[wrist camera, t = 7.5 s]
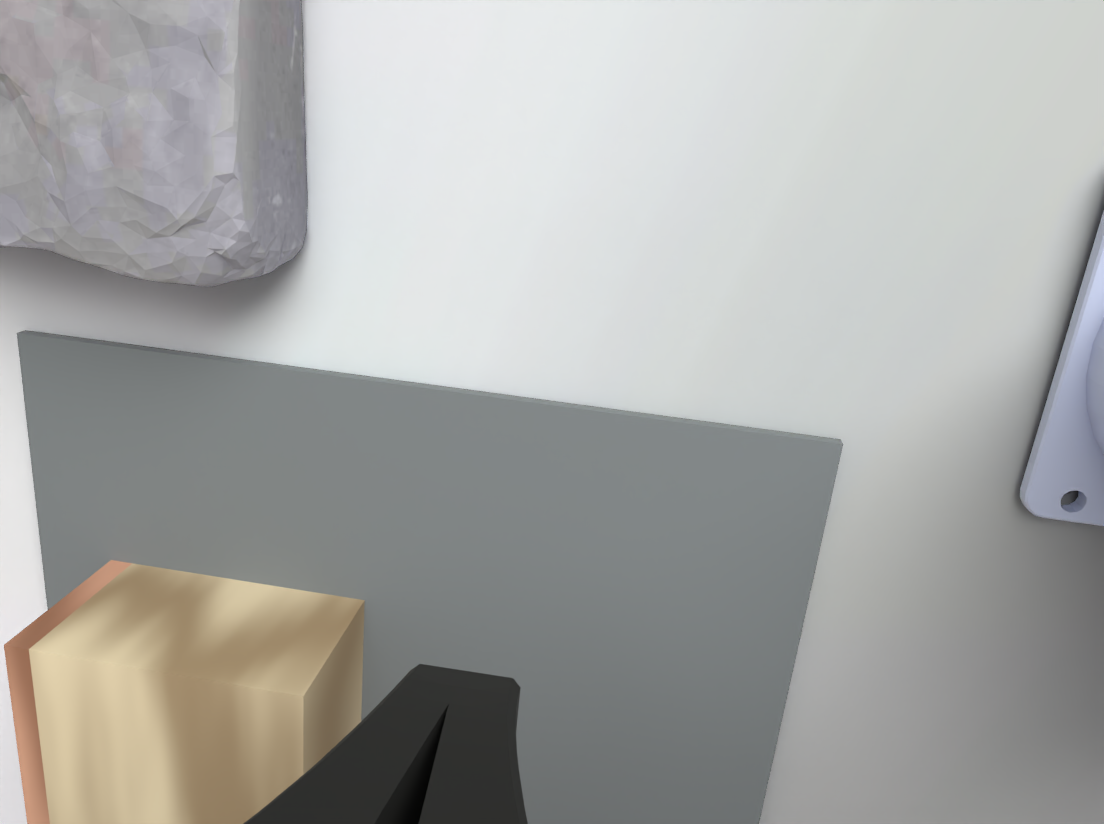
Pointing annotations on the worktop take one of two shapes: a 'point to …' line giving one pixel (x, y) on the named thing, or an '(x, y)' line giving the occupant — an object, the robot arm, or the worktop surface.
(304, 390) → the slate mat
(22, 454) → the worktop surface
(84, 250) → the stone block
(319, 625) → the maple block
